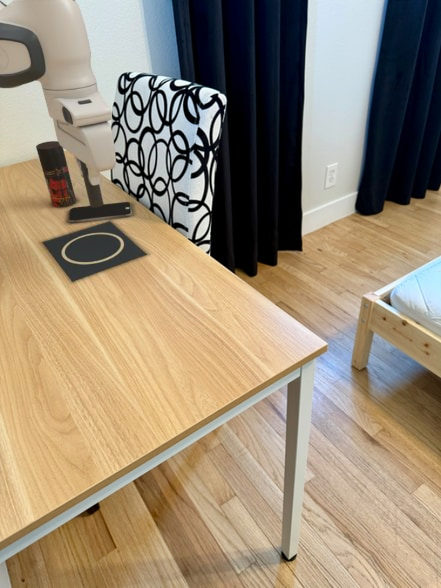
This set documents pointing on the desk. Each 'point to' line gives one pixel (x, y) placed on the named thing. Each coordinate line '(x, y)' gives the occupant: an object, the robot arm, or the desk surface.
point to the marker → (91, 189)
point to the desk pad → (93, 250)
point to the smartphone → (100, 212)
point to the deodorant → (56, 174)
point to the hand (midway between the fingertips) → (91, 180)
